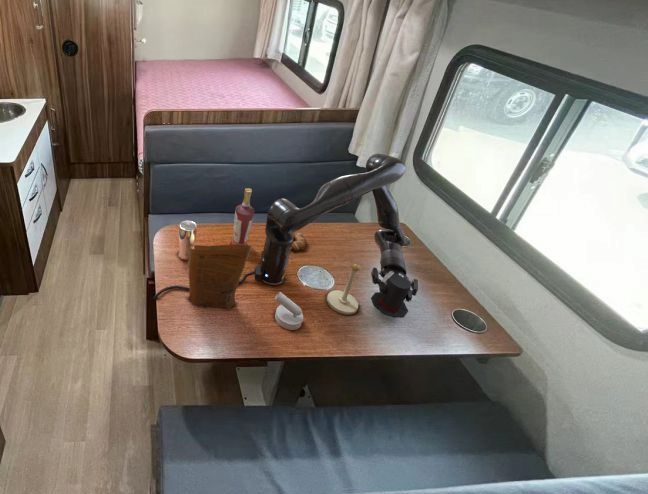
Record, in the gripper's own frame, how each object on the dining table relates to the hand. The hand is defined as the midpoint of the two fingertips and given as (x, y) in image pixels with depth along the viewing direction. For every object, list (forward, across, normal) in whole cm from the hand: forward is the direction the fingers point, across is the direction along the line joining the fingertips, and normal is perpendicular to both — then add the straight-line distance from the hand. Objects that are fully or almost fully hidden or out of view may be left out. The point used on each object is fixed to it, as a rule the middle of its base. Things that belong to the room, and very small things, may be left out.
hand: (396, 296), depth 127 cm
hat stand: (0, -14, +10) cm, 17 cm away
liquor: (-14, -54, +11) cm, 57 cm away
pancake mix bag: (+20, -55, +11) cm, 60 cm away
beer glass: (0, -72, +11) cm, 73 cm away
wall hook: (+15, -31, +11) cm, 36 cm away
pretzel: (-26, -34, +10) cm, 44 cm away
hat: (-2, 0, +6) cm, 7 cm away
